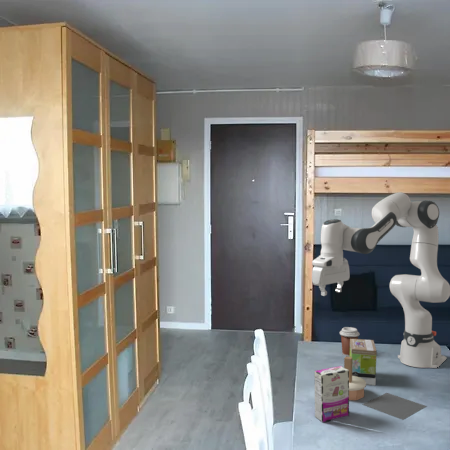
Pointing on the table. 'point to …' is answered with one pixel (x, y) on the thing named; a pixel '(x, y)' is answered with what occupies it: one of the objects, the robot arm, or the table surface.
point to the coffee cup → (348, 338)
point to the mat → (394, 406)
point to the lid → (354, 381)
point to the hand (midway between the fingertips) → (331, 293)
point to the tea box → (363, 359)
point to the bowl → (356, 394)
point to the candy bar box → (331, 393)
